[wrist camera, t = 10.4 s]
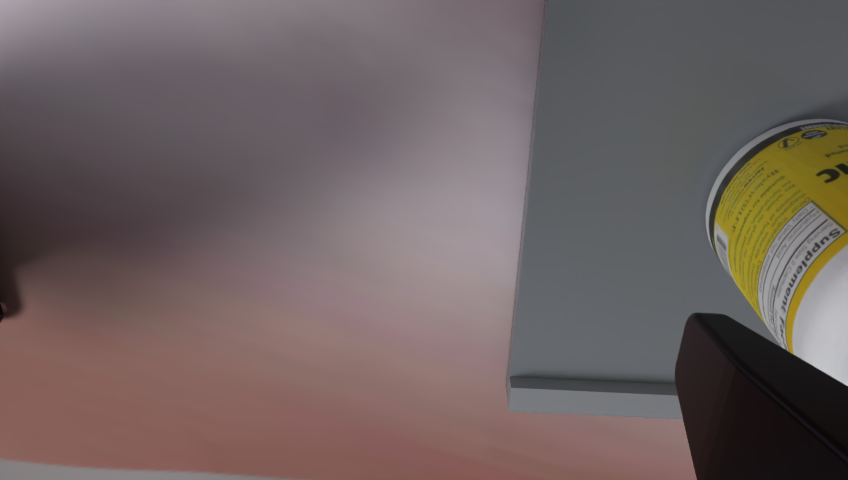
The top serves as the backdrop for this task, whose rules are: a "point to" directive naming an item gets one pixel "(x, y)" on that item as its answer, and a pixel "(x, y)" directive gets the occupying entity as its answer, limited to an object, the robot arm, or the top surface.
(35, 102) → the top surface
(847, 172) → the supplement bottle
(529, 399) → the gray tray
